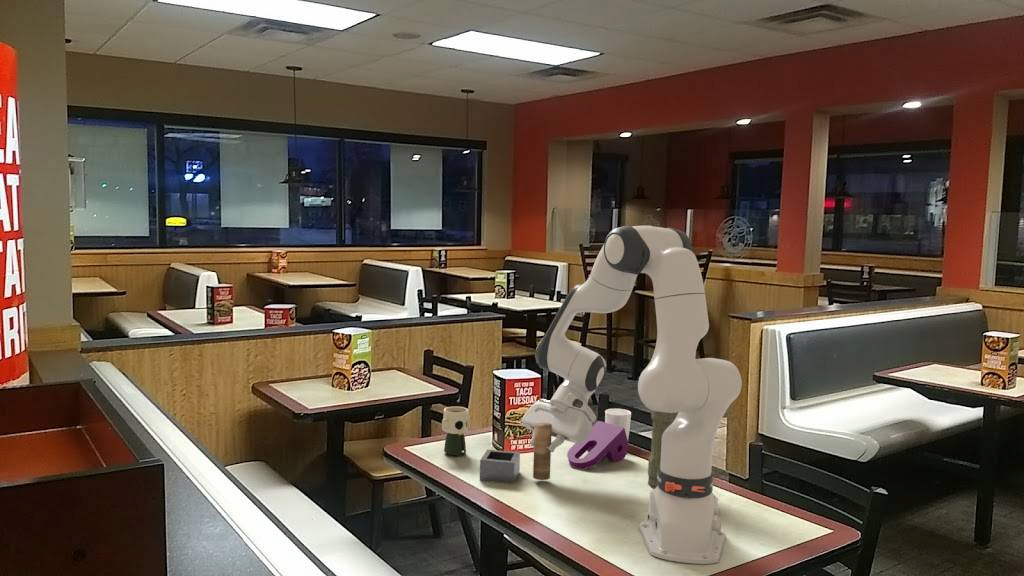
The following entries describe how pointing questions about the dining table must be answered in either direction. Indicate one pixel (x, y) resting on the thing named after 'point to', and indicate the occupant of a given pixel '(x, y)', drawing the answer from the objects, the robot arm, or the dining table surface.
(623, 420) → the white cup
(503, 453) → the metal well
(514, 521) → the dining table surface
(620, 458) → the mounting bracket
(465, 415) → the character mug
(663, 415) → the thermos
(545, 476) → the walnut post
